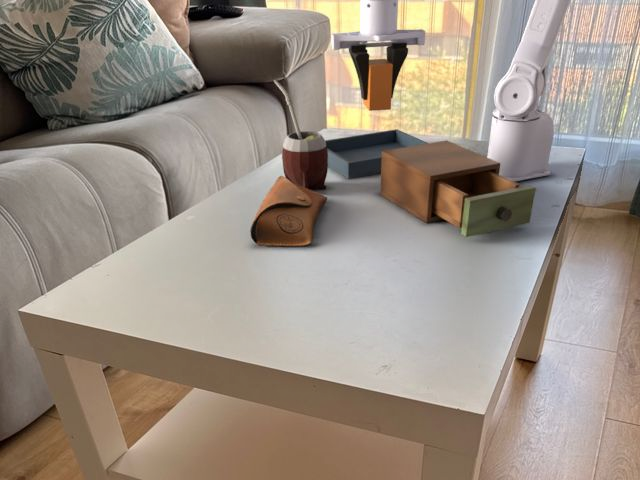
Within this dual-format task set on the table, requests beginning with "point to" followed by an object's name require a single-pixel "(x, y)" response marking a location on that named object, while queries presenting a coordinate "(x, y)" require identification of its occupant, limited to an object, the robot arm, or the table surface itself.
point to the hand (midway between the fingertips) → (376, 97)
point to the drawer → (482, 202)
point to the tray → (365, 151)
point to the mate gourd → (304, 155)
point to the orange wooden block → (379, 85)
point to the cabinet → (426, 173)
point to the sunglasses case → (287, 215)
